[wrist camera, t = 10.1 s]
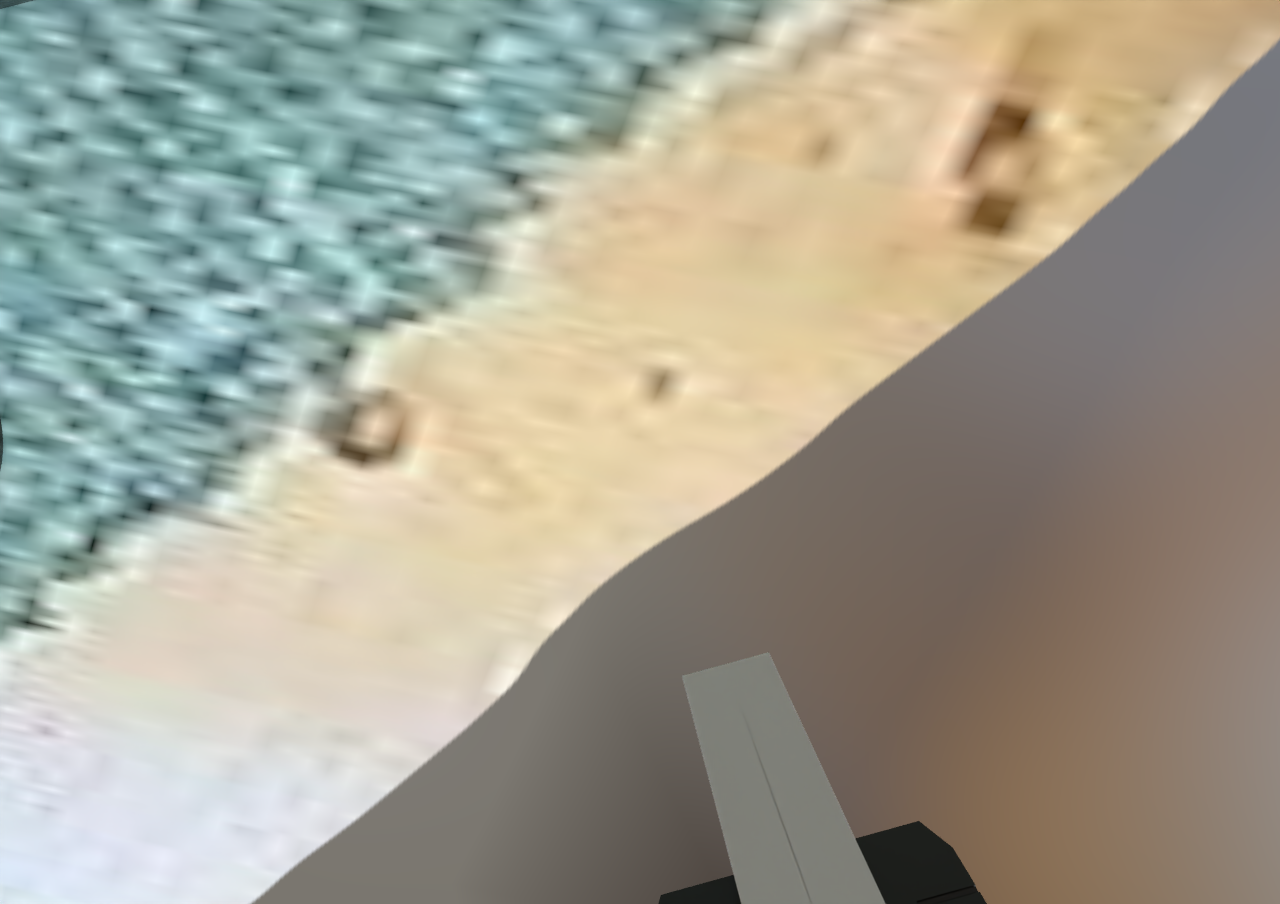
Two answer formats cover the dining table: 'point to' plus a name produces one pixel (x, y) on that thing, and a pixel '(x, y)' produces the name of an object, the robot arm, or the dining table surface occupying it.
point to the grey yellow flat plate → (11, 3)
